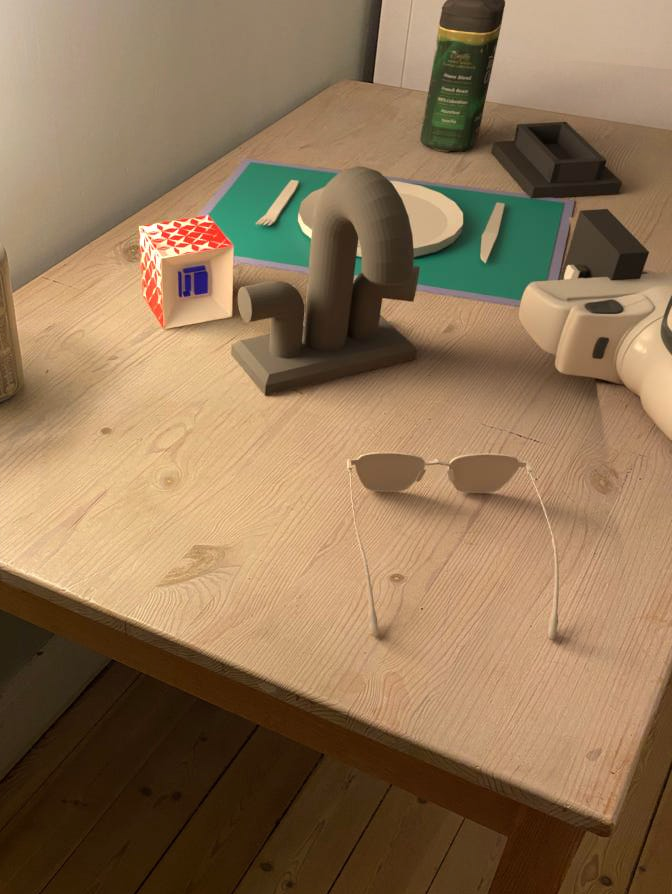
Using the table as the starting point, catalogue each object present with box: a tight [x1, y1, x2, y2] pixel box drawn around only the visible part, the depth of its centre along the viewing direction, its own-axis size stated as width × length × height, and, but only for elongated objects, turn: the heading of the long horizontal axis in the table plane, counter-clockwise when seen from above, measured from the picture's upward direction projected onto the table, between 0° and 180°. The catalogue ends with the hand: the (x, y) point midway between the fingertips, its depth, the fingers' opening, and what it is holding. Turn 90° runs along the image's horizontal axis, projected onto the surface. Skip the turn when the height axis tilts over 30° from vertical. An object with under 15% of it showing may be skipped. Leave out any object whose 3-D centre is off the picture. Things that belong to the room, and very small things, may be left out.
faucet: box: [230, 166, 420, 396], centre depth 88 cm, size 18×16×20 cm
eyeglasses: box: [346, 451, 560, 641], centre depth 75 cm, size 15×18×4 cm
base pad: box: [490, 121, 623, 198], centre depth 128 cm, size 16×12×4 cm
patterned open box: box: [138, 215, 234, 330], centre depth 102 cm, size 8×8×8 cm
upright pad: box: [559, 208, 650, 280], centre depth 98 cm, size 10×3×10 cm, turn 6°
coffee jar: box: [419, 0, 506, 153], centre depth 130 cm, size 10×8×19 cm
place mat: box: [196, 157, 576, 308], centre depth 118 cm, size 45×30×2 cm
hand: (596, 269), depth 98 cm, fingers open, 4 cm apart
